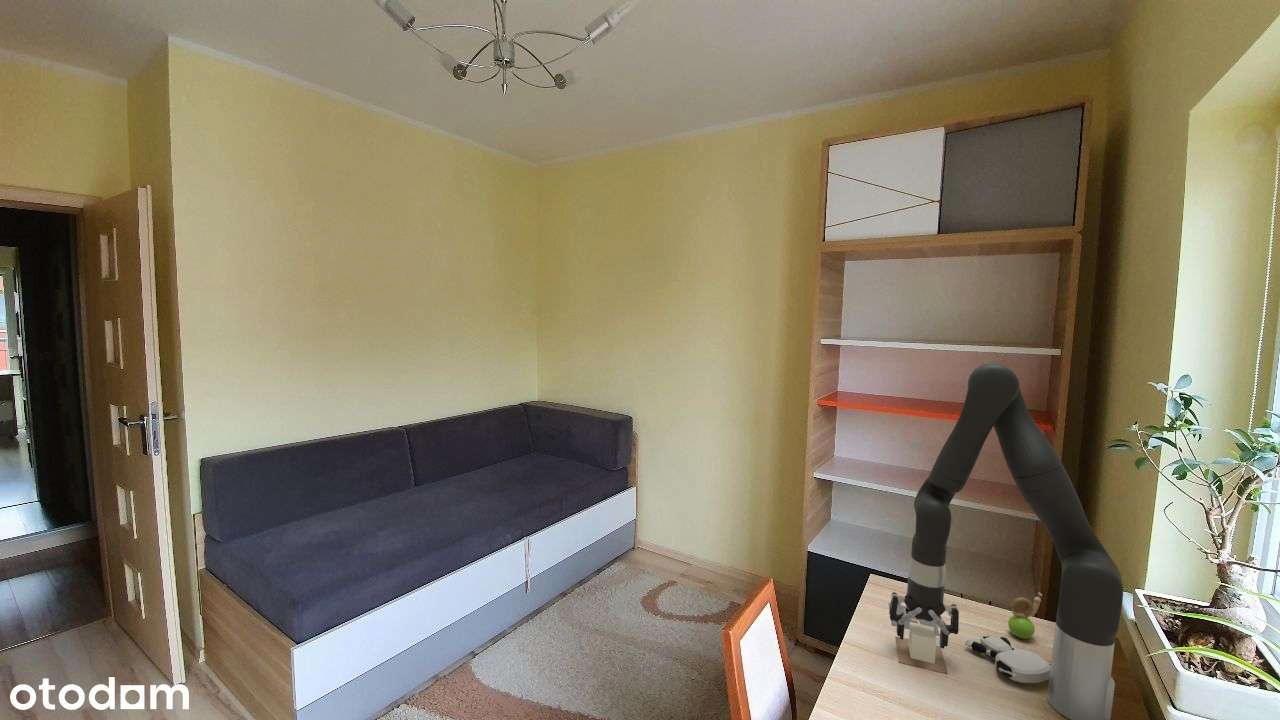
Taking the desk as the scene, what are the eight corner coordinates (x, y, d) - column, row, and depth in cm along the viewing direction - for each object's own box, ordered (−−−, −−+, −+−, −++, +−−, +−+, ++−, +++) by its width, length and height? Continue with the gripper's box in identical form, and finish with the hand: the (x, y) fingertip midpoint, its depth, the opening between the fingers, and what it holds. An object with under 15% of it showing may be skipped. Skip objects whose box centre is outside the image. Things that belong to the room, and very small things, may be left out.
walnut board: (940, 647, 127) (940, 646, 127) (947, 674, 118) (947, 673, 117) (895, 637, 130) (895, 636, 130) (898, 662, 121) (898, 661, 121)
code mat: (933, 613, 141) (933, 611, 141) (939, 637, 131) (939, 636, 131) (888, 603, 145) (888, 602, 145) (891, 626, 135) (891, 625, 135)
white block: (931, 650, 125) (933, 627, 125) (934, 663, 121) (936, 639, 120) (908, 645, 127) (910, 622, 126) (910, 658, 122) (912, 634, 122)
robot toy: (960, 653, 126) (1017, 694, 112) (960, 635, 126) (1017, 674, 112) (1002, 646, 129) (1062, 686, 114) (1002, 628, 129) (1063, 666, 114)
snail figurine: (1042, 645, 128) (1048, 599, 127) (1014, 642, 129) (1019, 596, 128) (1030, 631, 134) (1035, 587, 132) (1002, 628, 135) (1007, 584, 133)
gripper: (958, 576, 123) (952, 640, 124) (891, 563, 128) (887, 625, 130) (965, 592, 116) (958, 660, 117) (894, 578, 121) (889, 643, 123)
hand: (921, 641), depth 124 cm, fingers open, 8 cm apart
